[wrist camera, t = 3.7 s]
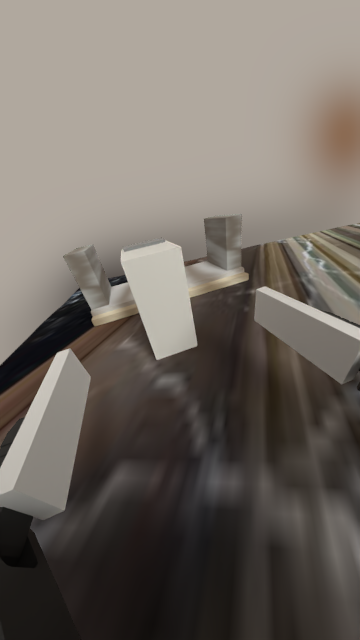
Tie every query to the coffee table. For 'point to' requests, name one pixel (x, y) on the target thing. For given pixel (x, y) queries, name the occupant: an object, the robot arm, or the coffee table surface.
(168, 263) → the block
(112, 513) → the coffee table surface
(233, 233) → the board
